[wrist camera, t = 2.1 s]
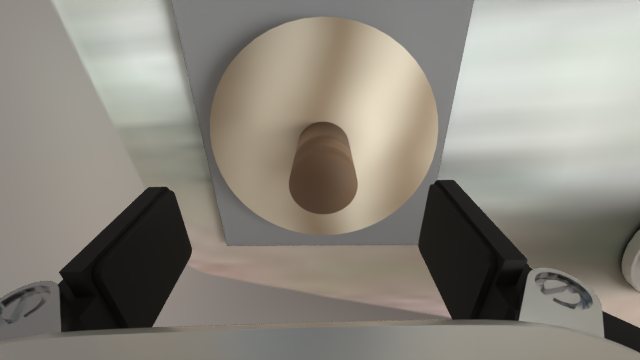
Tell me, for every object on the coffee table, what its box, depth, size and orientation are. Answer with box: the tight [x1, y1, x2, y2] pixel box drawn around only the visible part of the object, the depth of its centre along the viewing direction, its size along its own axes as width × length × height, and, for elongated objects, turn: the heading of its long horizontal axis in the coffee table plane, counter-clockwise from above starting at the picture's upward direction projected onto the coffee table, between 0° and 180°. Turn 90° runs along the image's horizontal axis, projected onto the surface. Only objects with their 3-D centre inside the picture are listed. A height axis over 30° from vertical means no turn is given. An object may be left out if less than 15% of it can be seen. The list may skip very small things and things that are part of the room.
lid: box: [210, 17, 438, 235], centre depth 16 cm, size 14×14×6 cm
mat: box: [171, 0, 474, 246], centre depth 19 cm, size 16×18×1 cm
